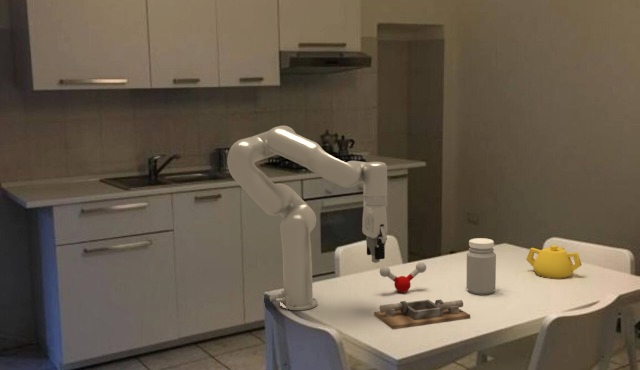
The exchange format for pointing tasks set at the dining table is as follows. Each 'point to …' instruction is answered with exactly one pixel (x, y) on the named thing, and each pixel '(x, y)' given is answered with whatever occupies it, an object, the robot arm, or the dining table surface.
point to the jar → (481, 266)
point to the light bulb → (372, 247)
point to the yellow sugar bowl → (553, 262)
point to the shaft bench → (420, 313)
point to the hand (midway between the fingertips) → (375, 256)
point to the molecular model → (402, 277)
